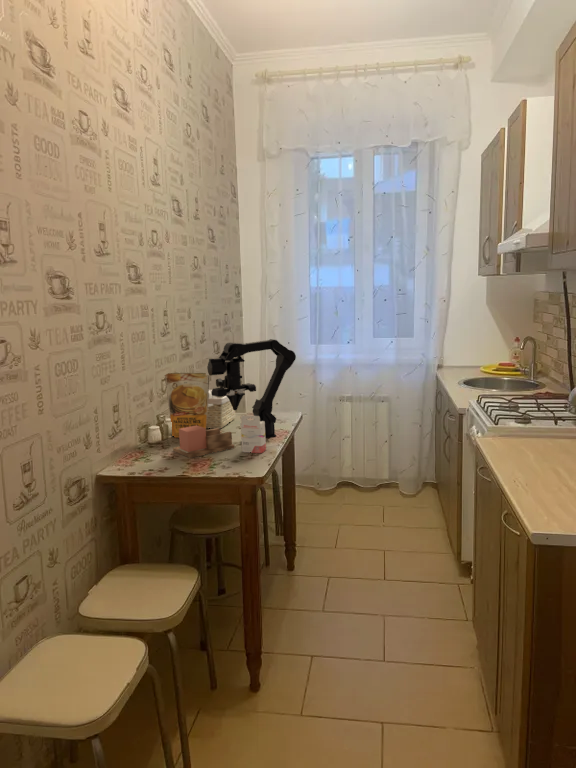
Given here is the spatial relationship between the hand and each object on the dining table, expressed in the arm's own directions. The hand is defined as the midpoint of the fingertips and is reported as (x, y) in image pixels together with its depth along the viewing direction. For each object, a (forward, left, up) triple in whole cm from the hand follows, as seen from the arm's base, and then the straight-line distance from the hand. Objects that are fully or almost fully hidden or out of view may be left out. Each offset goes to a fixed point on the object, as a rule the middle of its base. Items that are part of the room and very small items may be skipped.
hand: (235, 410), depth 247 cm
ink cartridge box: (-1, +19, -13) cm, 23 cm away
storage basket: (-1, -36, -13) cm, 38 cm away
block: (+20, +8, -12) cm, 25 cm away
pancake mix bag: (+16, -17, -13) cm, 27 cm away
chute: (+16, +7, -13) cm, 22 cm away
